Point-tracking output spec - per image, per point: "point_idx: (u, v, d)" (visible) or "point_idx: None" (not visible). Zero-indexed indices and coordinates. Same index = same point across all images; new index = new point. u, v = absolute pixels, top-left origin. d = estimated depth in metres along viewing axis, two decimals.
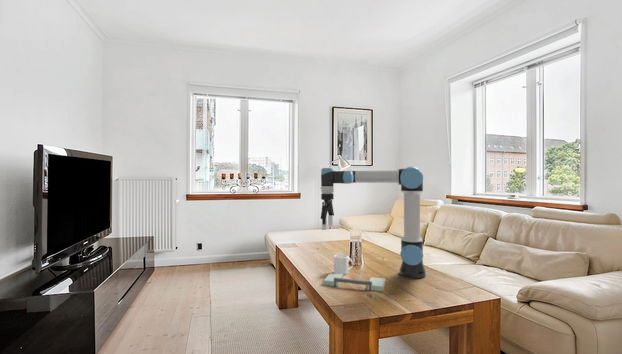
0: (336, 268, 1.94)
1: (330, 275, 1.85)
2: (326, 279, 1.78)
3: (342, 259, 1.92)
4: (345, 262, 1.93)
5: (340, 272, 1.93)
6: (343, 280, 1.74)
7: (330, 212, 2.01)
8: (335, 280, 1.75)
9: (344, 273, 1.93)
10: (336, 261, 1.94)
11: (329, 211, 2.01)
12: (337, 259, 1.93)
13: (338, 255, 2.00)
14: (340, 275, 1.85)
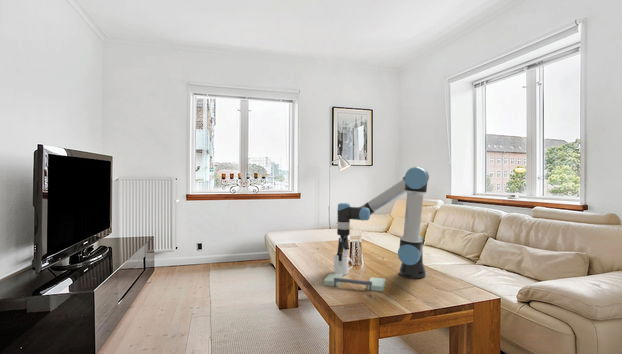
0: (336, 268, 1.94)
1: (330, 275, 1.85)
2: (326, 279, 1.78)
3: None
4: (345, 262, 1.93)
5: (340, 272, 1.93)
6: (343, 280, 1.74)
7: (345, 246, 2.02)
8: (335, 280, 1.75)
9: (344, 273, 1.93)
10: (336, 261, 1.94)
11: (344, 245, 2.02)
12: (337, 259, 1.93)
13: None
14: (340, 275, 1.85)
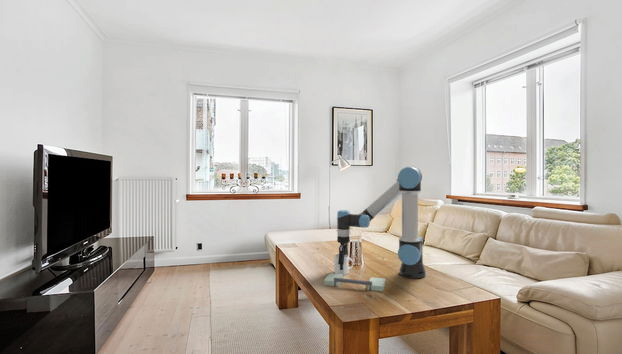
0: (336, 268, 1.94)
1: (330, 275, 1.85)
2: (326, 279, 1.78)
3: None
4: (345, 262, 1.94)
5: None
6: (343, 280, 1.74)
7: None
8: (335, 280, 1.75)
9: (344, 273, 1.94)
10: (336, 261, 1.94)
11: (344, 254, 2.00)
12: (337, 259, 1.94)
13: (338, 255, 2.01)
14: (340, 275, 1.85)
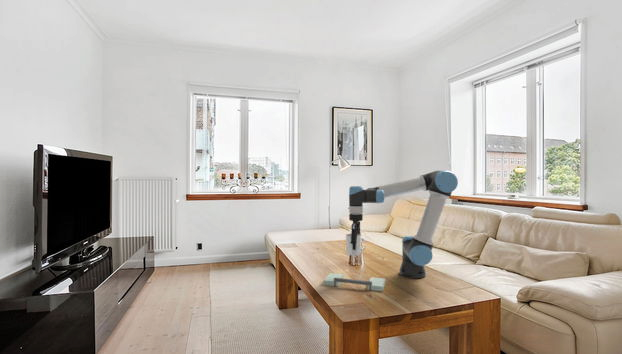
0: (348, 248, 1.80)
1: (330, 275, 1.85)
2: (326, 279, 1.78)
3: None
4: (358, 241, 1.79)
5: None
6: (343, 280, 1.74)
7: None
8: (335, 280, 1.75)
9: (357, 253, 1.79)
10: (348, 240, 1.80)
11: (356, 234, 1.85)
12: (349, 238, 1.79)
13: (350, 234, 1.86)
14: (340, 275, 1.85)
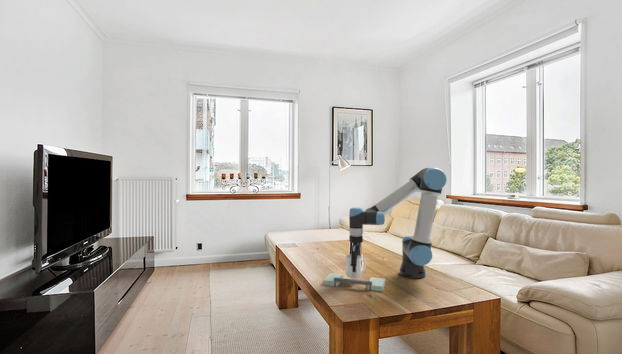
0: (348, 270, 1.80)
1: (330, 275, 1.85)
2: (326, 279, 1.78)
3: None
4: (358, 263, 1.79)
5: None
6: (343, 280, 1.74)
7: None
8: (335, 280, 1.75)
9: (357, 275, 1.79)
10: (348, 262, 1.80)
11: (356, 255, 1.86)
12: (349, 260, 1.79)
13: (350, 255, 1.87)
14: (340, 275, 1.85)
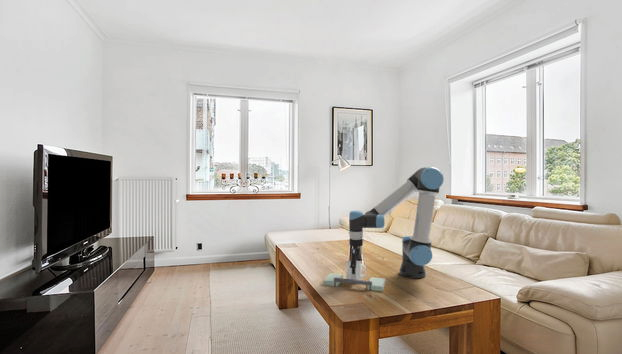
0: (349, 275, 1.80)
1: (330, 275, 1.85)
2: (326, 279, 1.78)
3: (356, 265, 1.78)
4: (358, 269, 1.79)
5: None
6: (343, 280, 1.74)
7: (358, 257, 1.88)
8: (335, 280, 1.75)
9: None
10: (349, 268, 1.80)
11: (357, 256, 1.87)
12: None
13: (350, 261, 1.86)
14: (340, 275, 1.85)
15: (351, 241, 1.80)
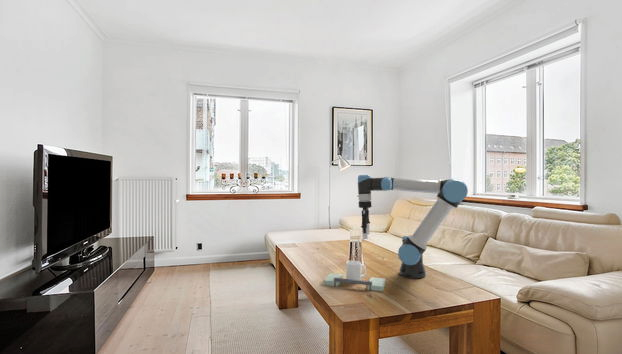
0: (349, 275, 1.80)
1: (330, 275, 1.85)
2: (326, 279, 1.78)
3: (355, 266, 1.78)
4: (358, 269, 1.79)
5: None
6: (343, 280, 1.74)
7: (367, 220, 1.96)
8: (335, 280, 1.75)
9: None
10: (349, 268, 1.80)
11: (366, 219, 1.96)
12: (350, 266, 1.79)
13: (350, 261, 1.86)
14: (340, 275, 1.85)
15: (361, 203, 1.88)
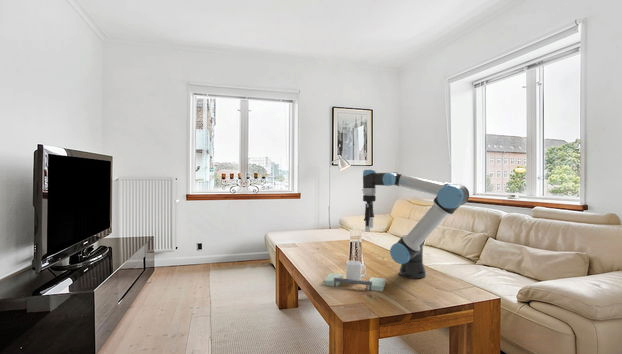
0: (349, 275, 1.80)
1: (330, 275, 1.85)
2: (326, 279, 1.78)
3: (355, 266, 1.78)
4: (358, 269, 1.79)
5: None
6: (343, 280, 1.74)
7: (371, 214, 2.02)
8: (335, 280, 1.75)
9: None
10: (349, 268, 1.80)
11: (370, 213, 2.01)
12: (350, 266, 1.79)
13: (350, 261, 1.86)
14: (340, 275, 1.85)
15: (365, 197, 1.94)
